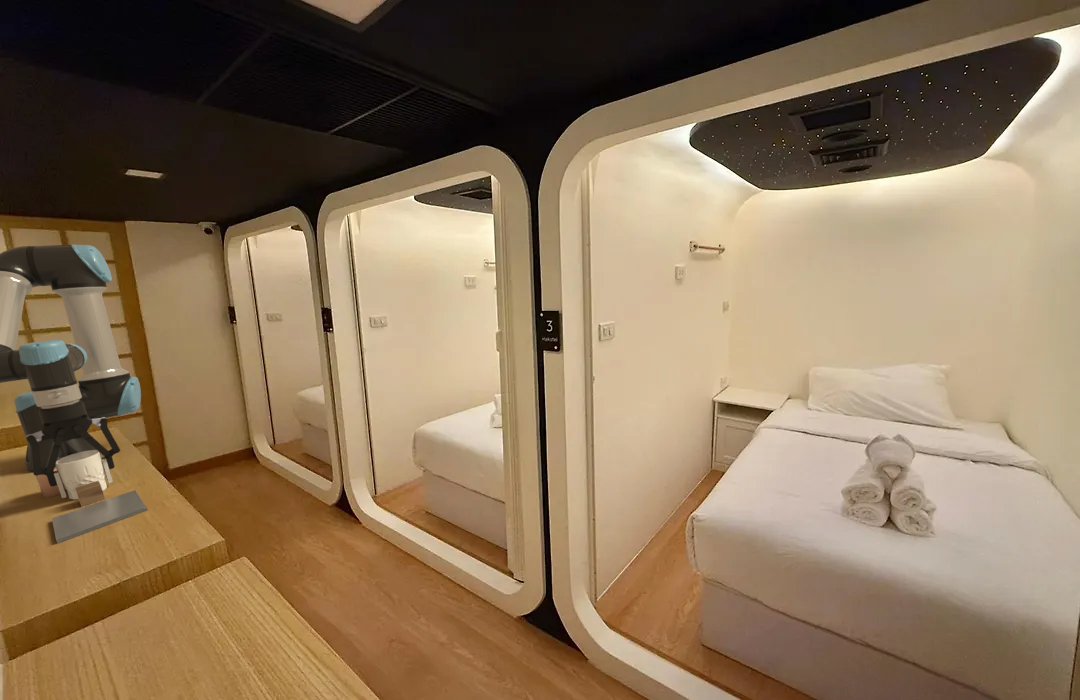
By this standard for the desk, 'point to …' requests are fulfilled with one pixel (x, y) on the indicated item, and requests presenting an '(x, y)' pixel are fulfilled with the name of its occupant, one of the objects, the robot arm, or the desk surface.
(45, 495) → the copper rounded block
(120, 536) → the desk surface
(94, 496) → the walnut block
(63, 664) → the desk surface
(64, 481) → the white cup
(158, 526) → the desk surface
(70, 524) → the coaster
